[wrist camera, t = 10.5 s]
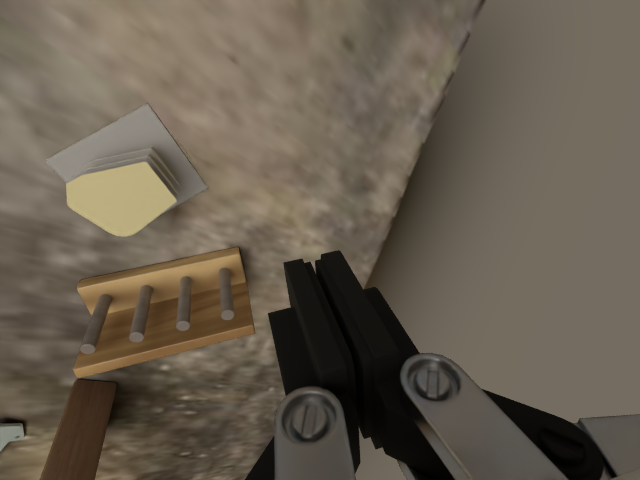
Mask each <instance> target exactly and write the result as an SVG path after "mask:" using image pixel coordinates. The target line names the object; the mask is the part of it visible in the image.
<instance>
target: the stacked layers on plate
mask: <svg viewBox="0 0 640 480" xmlns="http://www.w3.org/2000/svg"><path fill="white" fill-rule="evenodd" d="M45 161H46V162H47V163H48V165H49V166H50V167H51V168H52V169H53V170H54V171H55V172H56V173H57V174H58V175H59V176H60V177H61V178H62V179H63V180H64V181H65V182H66V183H67V184H66V188H67V205H68V206H69V207H70V208H71V209H72V210H74V211H75V212H77V213H79V214H80V215H82V216H83V217H85V218H87V219H88V220H90V221H91V222H93V223H95V224H96V225H98V226H99V227H101V228H103V229H104V230H106V231H107V232H109V233H111V234H113V235H117V236H119V237H121V236H130V235H133V234H135V233H137V232H138V231H139V230H141V229H142V228H143V227H145V226H146V225H147V224H148V223H150V222H151V221H152V220H154V219H155V218H156V217H158V216H159V215H161V214H163V213H165V212H166V211H168V210H170V209H172V208H174V207H175V206H177V205H179V204H181V203H183V202H185V201H186V200H188V199H190V198H192V197H194V196H195V195H197V194H199V193H201V192H203V191H204V190H206V189H208V187H207V186H206V184H205V183H204V182H203V180H202V179H201V177H200V176H199V175H198V173H197V172H196V170H195V169H194V168H193V166H192V165H191V163H190V162H189V161H188V159H187V158H186V156H185V155H184V154H183V152H182V151H181V149H180V148H179V147H178V145H177V144H176V142H175V141H174V140H173V138H172V137H171V135H170V134H169V133H168V131H167V130H166V128H165V127H164V126H163V124H162V123H161V121H160V120H159V119H158V117H157V116H156V114H155V113H154V112H153V110H152V109H151V107H150V106H149V105H148V103H147V104H145V105H144V106H142V107H140V108H138V109H136V110H135V111H133V112H131V113H129V114H128V115H126V116H124V117H122V118H120V119H119V120H117V121H115V122H113V123H111V124H110V125H108V126H106V127H104V128H102V129H101V130H99V131H97V132H95V133H93V134H92V135H90V136H88V137H86V138H84V139H83V140H81V141H79V142H77V143H75V144H74V145H72V146H70V147H68V148H66V149H65V150H63V151H61V152H59V153H57V154H56V155H54V156H52V157H50V158H48V159H47V160H45Z"/></svg>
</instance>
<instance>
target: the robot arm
mask: <svg viewBox="0 0 640 480" xmlns="http://www.w3.org/2000/svg"><path fill="white" fill-rule="evenodd" d="M315 267H316V273H315V271H314V269H313V266H312V264H311V262H307V263H304V261H303V259H298V260H293V261H289V262H284V270H285V276H286V282H287V288H288V294H289V300H290V306H291V308H287V309H283V310H279V311H275V312H271V313H268V316H269V321H270V325H271V330H272V335H273V339H274V344H275V348H276V353H277V358H278V362H279V367H280V371H281V376H282V380H283V385H284V390H285V394H286V397H285V398H284V399H283V400H282V401H281V402H280V404H279V406H278V408H277V410H276V413H275V420H274V437H273V438H272V440H271V441H270V443H269V444H268V446H267V447H266V449H265V450H264V452H263V453H262V455H261V456H260V458H259V459H258V461H257V462H256V464H255V465H254V467H253V468H252V470H251V471H250V473H249V474H248V476H247V477H246V479H245V480H356V477H355V473H356V471H357V468H358V466H359V464H360V446H359V428H360V431H361V433H362V436H363V437H364V439H365V438H369V437H371V439H372V442H373V444H374V447H375V449H378V448H381V447H383V449H384V451H385V454H387V455H389V456H391V457H393V458H395V459H397V461H398V464H399V466H400V468H401V470H402V472H403V474H404V475H405V477H406V479H407V480H640V414H636V415H622V416H607V417H593V418H580V419H579V421H578V423H571V422H568V421H566V420H565V419H562V418H560V417H557V416H555V415H552V414H549V413H546V412H544V411H541V410H538V409H535V408H533V407H530V406H527V405H525V404H521V403H519V402H516V401H514V400H511V399H508V398H505V397H503V396H500V395H497V394H494V393H491V392H489V391H486V390H483V389H481V388H480V387H479V386H478V385H477V384H476V383H475V382H474V381H473V380H472V379H471V378H470V377H469V376H468V375H467V374H466V372H465V371H464V370H462V368H461V367H460V366H459V365H457V364H456V363H455V362H454V361H452V360H451V359H449V358H447V357H444V356H443V355H439V354H434V353H421V354H420V353H419V352H418V350H417V349H416V347H415V345H414V344H413V342H412V341H411V339H410V338H409V336H408V335H407V333H406V332H405V330H404V328H403V327H402V325H401V324H400V322H399V321H398V319H397V318H396V316H395V314H394V313H393V311H392V310H391V308H390V307H389V305H388V304H387V302H386V301H385V299H384V298H383V296H382V294H381V293H380V291H379V290H378V289H377V288H376V287H372V288H368V289H364V290H363V288H362V287H361V285H360V283H359V282H358V280H357V278H356V277H355V275H354V273H353V272H352V270H351V268H350V266H349V265H348V263H347V261H346V260H345V258H344V256H343V255H342V253H341V251H339V250H338V251H333V252H329V253H325V254H321V259H320V260H316V261H315Z"/></svg>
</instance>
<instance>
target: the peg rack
mask: <svg viewBox="0 0 640 480" xmlns="http://www.w3.org/2000/svg"><path fill="white" fill-rule="evenodd" d="M77 290H78V292H79V294H80V296H81V297H82V299H83V301H84V303H85V304H86V306H87V308H88V310H89V312H90V313H91V315H92V317H91V320H90V322H89V325H88V328H87V330H86V333H85V336H84V338H83V341H82V344H81V346H80V352H79V355H78V357H77V360H76V363H75V365H74V368H73V371H74V373H75V374H76V376H77V377H78V378H82V377H86V376H90V375H94V374H98V373H102V372H106V371H110V370H114V369H118V368H121V367H125V366H129V365H133V364H137V363H141V362H145V361H149V360H153V359H157V358H161V357H165V356H169V355H172V354H176V353H180V352H184V351H188V350H192V349H196V348H200V347H204V346H208V345H212V344H216V343H220V342H223V341H227V340H231V339H235V338H239V337H243V336H247V335H251V334H255V329H254V323H253V316H252V310H251V304H250V298H249V292H248V286H247V281H246V277H245V273H244V268H243V264H242V260H241V256H240V252H239V248H238V247H235V248H230V249H225V250H221V251H216V252H211V253H206V254H202V255H197V256H192V257H187V258H183V259H178V260H173V261H168V262H164V263H159V264H154V265H149V266H145V267H140V268H135V269H131V270H126V271H121V272H116V273H112V274H107V275H102V276H97V277H93V278H88V279H83V280H80V283H79V285H78V287H77Z"/></svg>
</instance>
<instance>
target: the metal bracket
mask: <svg viewBox="0 0 640 480" xmlns="http://www.w3.org/2000/svg"><path fill="white" fill-rule="evenodd" d="M16 436H19V437H16ZM23 437H24V430H23V424H22V423H10V424H0V451H1V450H2V449H3V448H4V447H5V445H6V444H7V443H8V442H10V441H19V440H21V439H22V438H23Z"/></svg>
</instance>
